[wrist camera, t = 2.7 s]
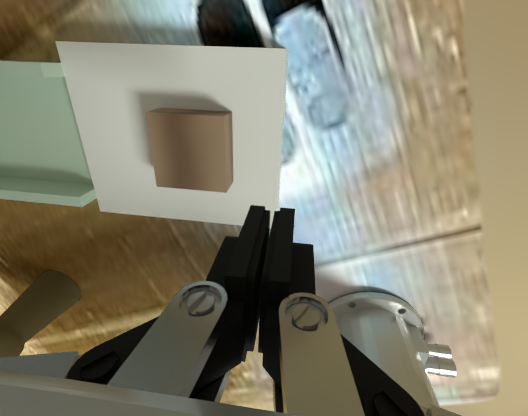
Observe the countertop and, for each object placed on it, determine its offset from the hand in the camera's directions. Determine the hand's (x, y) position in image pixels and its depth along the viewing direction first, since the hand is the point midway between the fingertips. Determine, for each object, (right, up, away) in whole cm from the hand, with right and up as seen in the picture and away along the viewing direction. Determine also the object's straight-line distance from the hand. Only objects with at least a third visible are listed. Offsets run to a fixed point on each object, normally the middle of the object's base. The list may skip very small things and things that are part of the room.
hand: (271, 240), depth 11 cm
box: (-23, +10, +18) cm, 30 cm away
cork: (-29, -10, +29) cm, 42 cm away
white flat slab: (-7, +8, +16) cm, 19 cm away
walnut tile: (-6, +7, +13) cm, 16 cm away
